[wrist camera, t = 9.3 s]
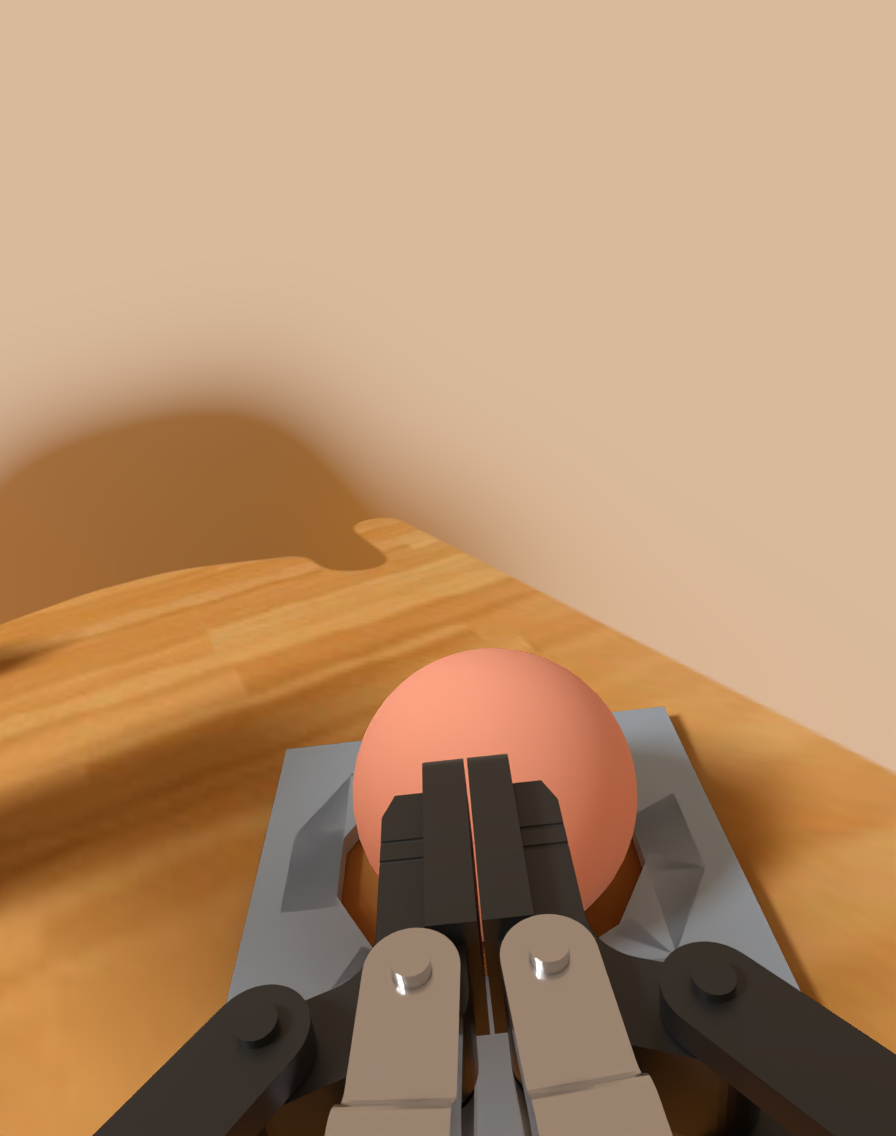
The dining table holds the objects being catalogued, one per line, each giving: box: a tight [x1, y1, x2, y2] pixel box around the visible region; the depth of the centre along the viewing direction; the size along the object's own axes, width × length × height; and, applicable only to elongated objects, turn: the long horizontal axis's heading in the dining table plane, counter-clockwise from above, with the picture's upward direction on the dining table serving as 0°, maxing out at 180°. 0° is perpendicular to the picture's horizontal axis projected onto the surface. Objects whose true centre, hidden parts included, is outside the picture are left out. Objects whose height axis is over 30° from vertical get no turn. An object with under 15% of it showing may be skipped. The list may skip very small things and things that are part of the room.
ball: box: [353, 648, 637, 942], centre depth 36 cm, size 12×12×12 cm
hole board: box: [226, 707, 800, 1136], centre depth 38 cm, size 24×22×1 cm
